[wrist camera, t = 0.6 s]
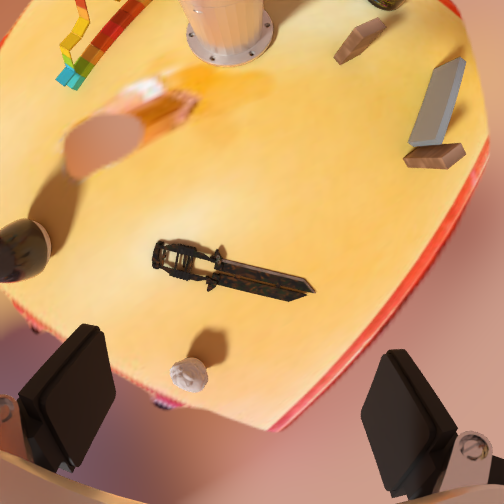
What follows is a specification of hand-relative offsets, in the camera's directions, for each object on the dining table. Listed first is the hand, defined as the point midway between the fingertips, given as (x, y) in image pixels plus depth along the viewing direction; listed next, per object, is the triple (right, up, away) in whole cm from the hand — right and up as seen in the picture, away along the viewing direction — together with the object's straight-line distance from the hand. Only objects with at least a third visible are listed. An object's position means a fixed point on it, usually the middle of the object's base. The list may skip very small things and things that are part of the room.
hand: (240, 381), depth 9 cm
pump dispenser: (-38, +6, +36) cm, 52 cm away
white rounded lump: (-10, -15, +41) cm, 45 cm away
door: (+28, +27, +28) cm, 48 cm away
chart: (-20, +43, +26) cm, 53 cm away
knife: (-2, +1, +37) cm, 37 cm away
